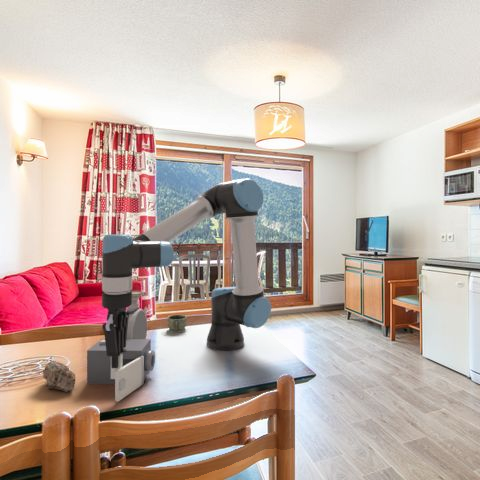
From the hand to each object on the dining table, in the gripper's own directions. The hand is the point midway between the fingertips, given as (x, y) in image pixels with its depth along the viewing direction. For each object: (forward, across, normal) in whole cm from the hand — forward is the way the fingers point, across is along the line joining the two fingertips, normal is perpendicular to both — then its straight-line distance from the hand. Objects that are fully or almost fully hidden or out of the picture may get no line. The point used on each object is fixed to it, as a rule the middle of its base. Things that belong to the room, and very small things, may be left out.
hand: (116, 377), depth 84 cm
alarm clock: (+6, -27, -5) cm, 28 cm away
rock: (+6, -6, -18) cm, 20 cm away
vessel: (+7, -60, +5) cm, 60 cm away
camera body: (+6, -12, -2) cm, 14 cm away
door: (+5, -2, +3) cm, 6 cm away
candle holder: (+6, -44, -10) cm, 46 cm away
